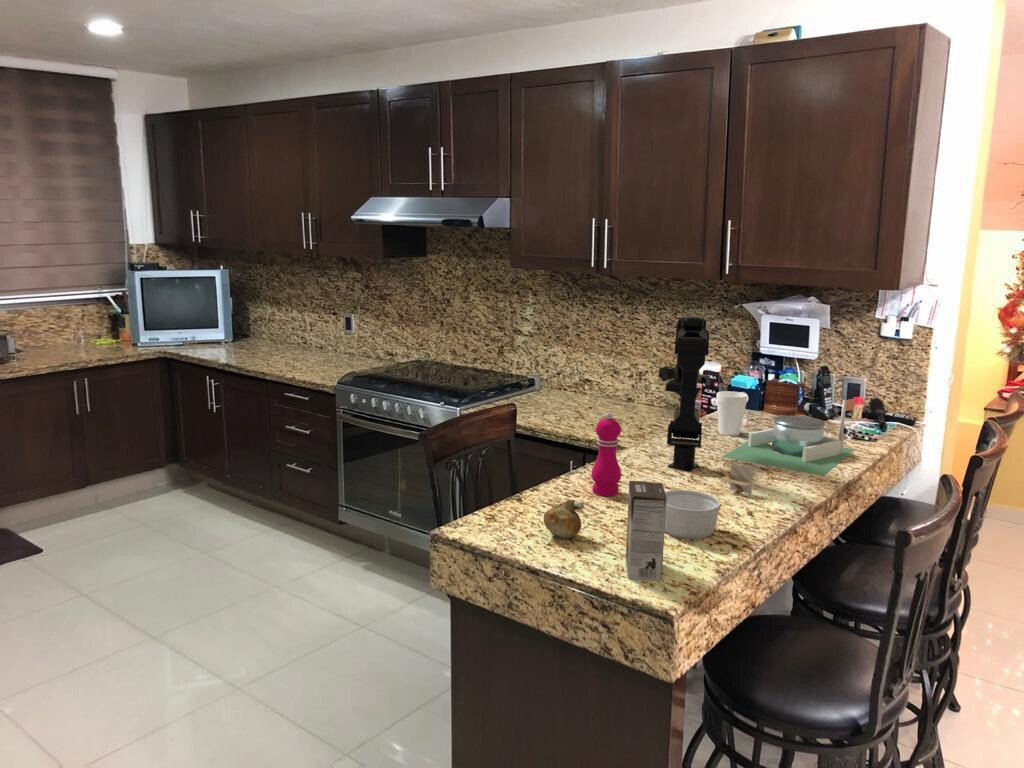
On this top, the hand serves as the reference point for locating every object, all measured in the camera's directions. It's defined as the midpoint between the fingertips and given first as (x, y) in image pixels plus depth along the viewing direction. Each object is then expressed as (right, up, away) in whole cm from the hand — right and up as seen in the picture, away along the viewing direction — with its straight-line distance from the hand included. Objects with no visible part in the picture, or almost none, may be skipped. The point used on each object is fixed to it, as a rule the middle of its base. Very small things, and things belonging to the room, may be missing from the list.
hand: (686, 412), depth 230 cm
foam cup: (+19, -8, +26) cm, 33 cm away
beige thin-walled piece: (+36, -11, +9) cm, 38 cm away
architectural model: (+6, -19, -33) cm, 39 cm away
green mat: (+31, -12, +4) cm, 34 cm away
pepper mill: (-28, -19, -35) cm, 49 cm away
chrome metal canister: (+34, -12, +7) cm, 37 cm away
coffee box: (-26, -27, -80) cm, 88 cm away
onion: (-40, -24, -64) cm, 79 cm away
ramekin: (-13, -23, -59) cm, 65 cm away
